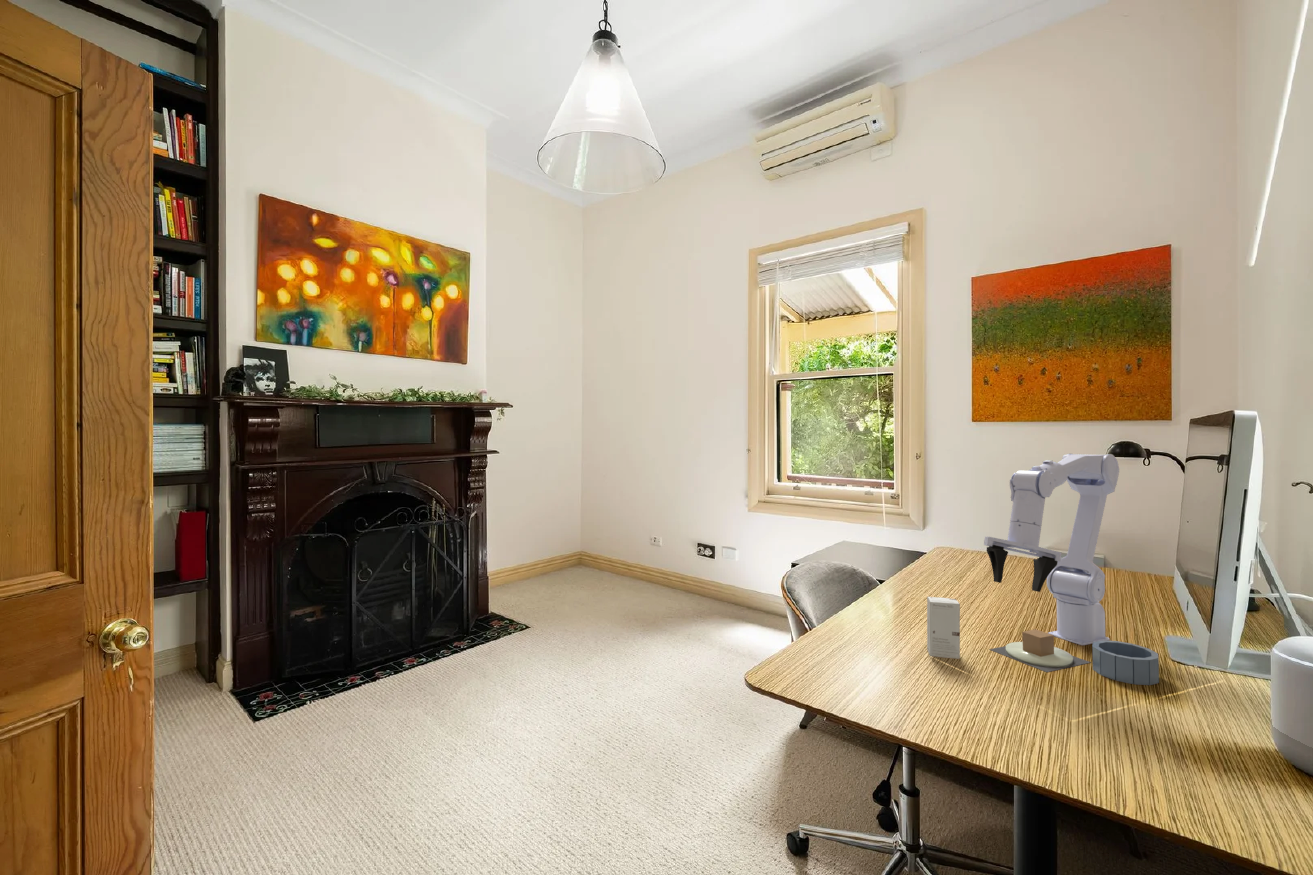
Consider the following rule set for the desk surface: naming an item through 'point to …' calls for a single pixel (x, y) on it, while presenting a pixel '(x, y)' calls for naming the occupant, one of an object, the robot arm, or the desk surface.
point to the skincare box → (943, 627)
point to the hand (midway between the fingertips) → (1016, 586)
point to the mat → (1044, 668)
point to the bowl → (1125, 662)
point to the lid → (1039, 650)
